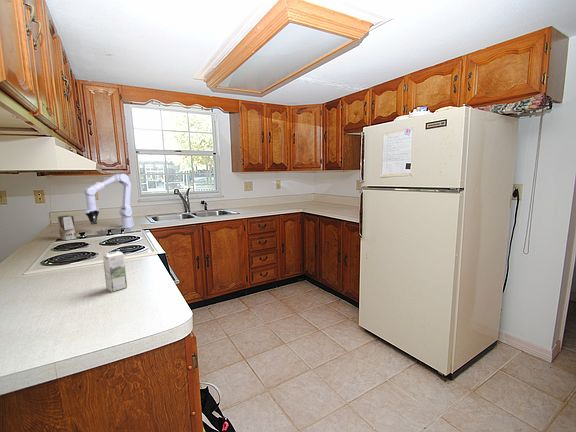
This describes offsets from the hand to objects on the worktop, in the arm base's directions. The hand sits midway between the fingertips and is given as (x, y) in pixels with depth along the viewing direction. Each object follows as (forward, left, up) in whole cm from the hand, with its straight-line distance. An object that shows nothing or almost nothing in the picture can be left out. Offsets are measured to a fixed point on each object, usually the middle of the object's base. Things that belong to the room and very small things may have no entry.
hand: (93, 221), depth 219 cm
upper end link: (0, +11, -9) cm, 14 cm away
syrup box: (+114, +69, -9) cm, 134 cm away
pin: (0, 0, -2) cm, 2 cm away
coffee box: (+18, -8, -9) cm, 22 cm away
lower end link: (0, +16, -9) cm, 18 cm away
